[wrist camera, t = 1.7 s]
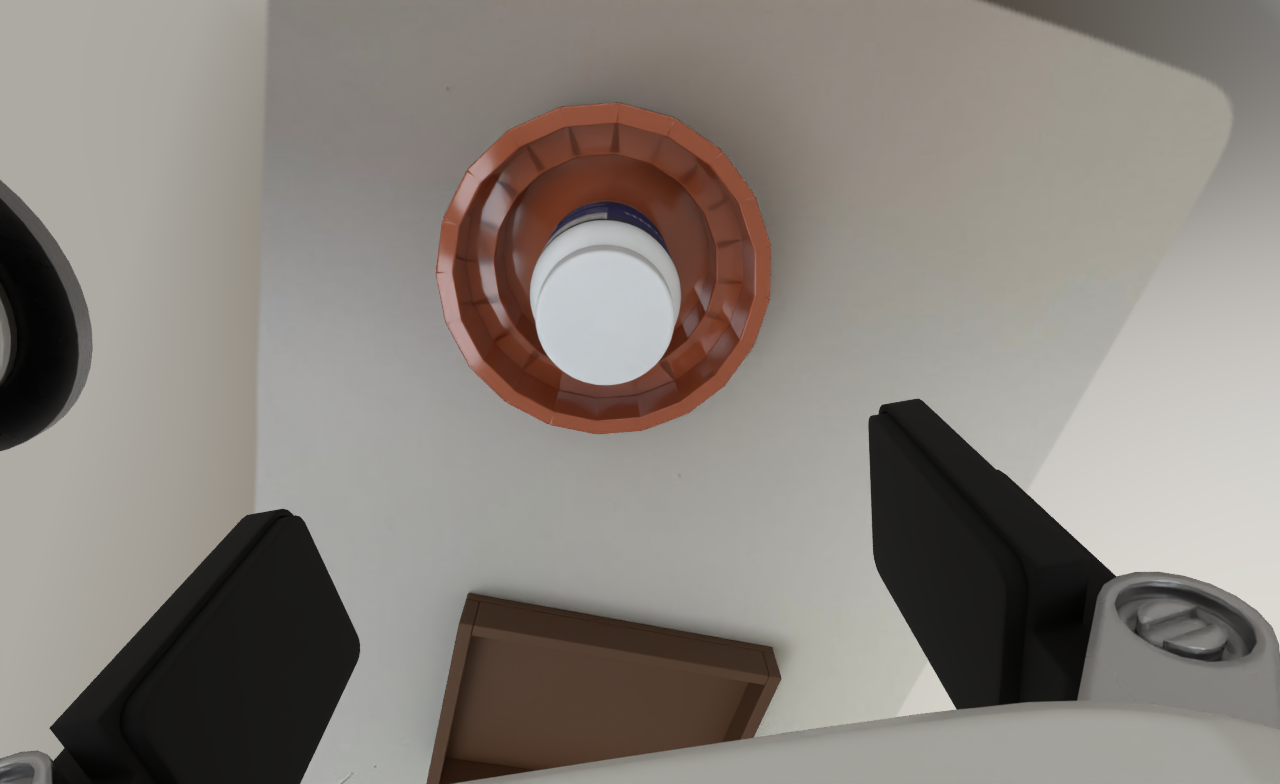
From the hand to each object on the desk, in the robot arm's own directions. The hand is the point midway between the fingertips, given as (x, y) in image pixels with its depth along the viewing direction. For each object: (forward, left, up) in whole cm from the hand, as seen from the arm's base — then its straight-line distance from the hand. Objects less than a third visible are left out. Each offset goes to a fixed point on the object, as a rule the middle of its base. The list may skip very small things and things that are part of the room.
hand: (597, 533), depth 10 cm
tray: (+22, -20, -22) cm, 37 cm away
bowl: (0, 0, -22) cm, 22 cm away
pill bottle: (0, 0, -22) cm, 22 cm away
